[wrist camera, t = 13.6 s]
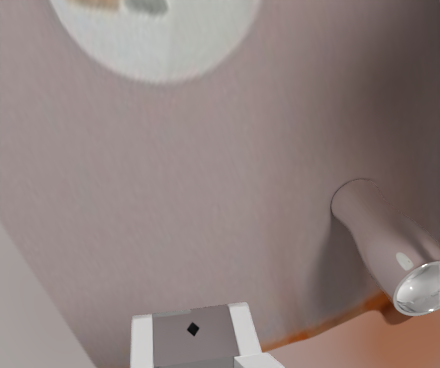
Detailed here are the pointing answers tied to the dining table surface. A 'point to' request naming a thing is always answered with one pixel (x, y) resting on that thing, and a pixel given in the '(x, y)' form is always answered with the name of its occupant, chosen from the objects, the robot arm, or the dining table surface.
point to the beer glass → (391, 247)
